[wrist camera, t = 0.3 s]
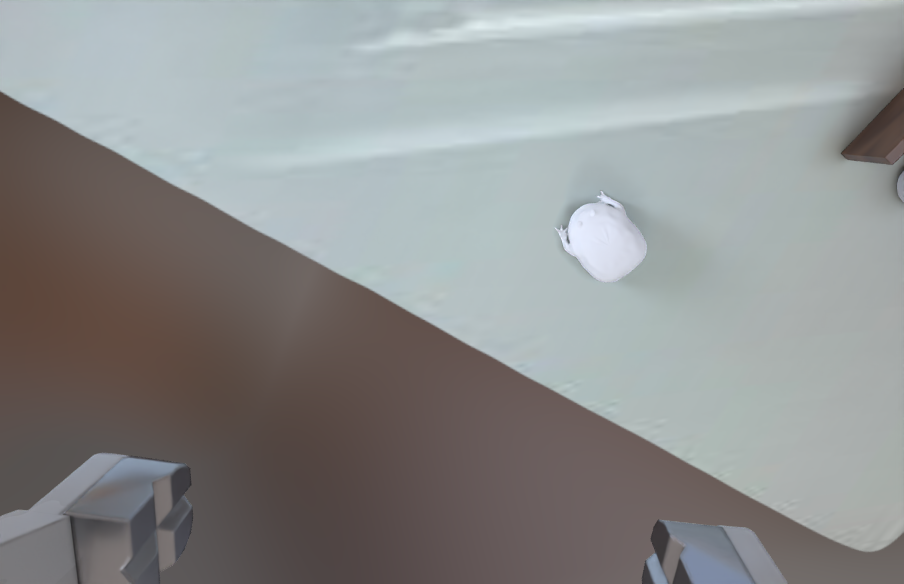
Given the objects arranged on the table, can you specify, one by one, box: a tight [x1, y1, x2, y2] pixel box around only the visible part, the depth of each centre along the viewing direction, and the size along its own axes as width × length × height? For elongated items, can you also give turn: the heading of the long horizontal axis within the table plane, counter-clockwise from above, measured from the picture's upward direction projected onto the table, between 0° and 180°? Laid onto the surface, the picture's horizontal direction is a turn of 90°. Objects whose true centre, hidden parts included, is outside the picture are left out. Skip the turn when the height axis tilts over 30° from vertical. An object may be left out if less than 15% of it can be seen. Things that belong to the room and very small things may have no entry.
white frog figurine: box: [555, 191, 647, 283], centre depth 53 cm, size 8×7×4 cm
